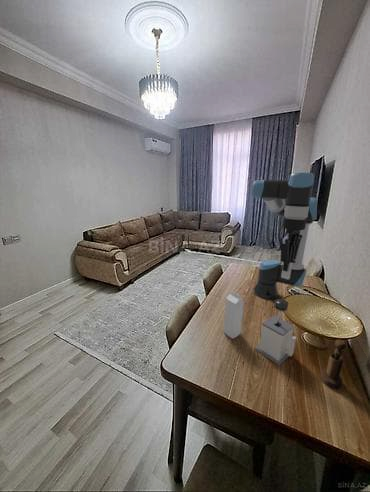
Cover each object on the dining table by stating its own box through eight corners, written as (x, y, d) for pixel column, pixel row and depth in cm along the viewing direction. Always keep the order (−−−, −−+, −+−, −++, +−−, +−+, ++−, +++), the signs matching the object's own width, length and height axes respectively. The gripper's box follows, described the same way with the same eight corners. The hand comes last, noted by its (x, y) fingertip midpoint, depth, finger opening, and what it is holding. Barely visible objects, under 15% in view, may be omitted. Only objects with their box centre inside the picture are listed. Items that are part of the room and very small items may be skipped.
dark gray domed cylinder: (273, 324, 93) (278, 297, 89) (286, 331, 89) (292, 302, 85) (267, 330, 89) (271, 301, 85) (280, 337, 85) (285, 307, 81)
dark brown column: (316, 373, 81) (325, 334, 76) (331, 372, 82) (342, 333, 77) (329, 389, 75) (340, 348, 70) (345, 388, 75) (358, 347, 70)
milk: (232, 339, 99) (236, 297, 93) (222, 332, 103) (225, 292, 97) (240, 334, 102) (244, 293, 96) (231, 327, 107) (234, 288, 101)
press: (268, 339, 99) (272, 313, 96) (296, 355, 90) (301, 328, 86) (255, 349, 93) (259, 323, 89) (284, 369, 83) (289, 339, 79)
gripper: (292, 215, 82) (283, 271, 89) (276, 218, 74) (267, 279, 81) (313, 217, 77) (302, 277, 83) (297, 220, 69) (287, 286, 75)
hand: (285, 277), depth 82 cm, fingers closed
